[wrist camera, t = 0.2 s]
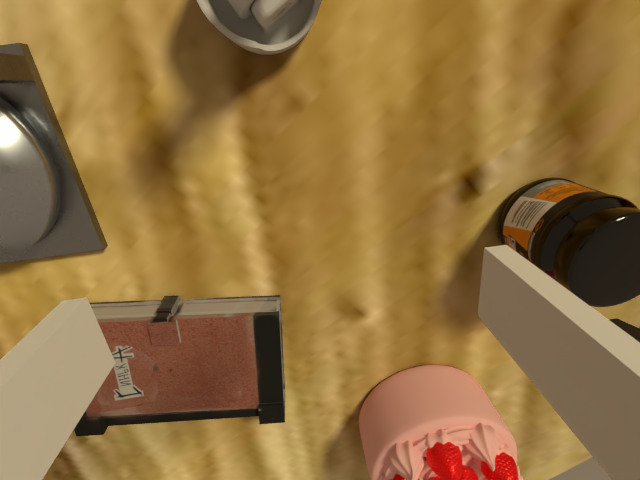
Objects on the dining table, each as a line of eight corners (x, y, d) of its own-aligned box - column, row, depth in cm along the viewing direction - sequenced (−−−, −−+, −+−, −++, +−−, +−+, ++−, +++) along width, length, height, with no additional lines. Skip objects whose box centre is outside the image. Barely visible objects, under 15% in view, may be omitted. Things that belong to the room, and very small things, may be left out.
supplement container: (487, 193, 41) (560, 233, 30) (577, 161, 40) (685, 189, 29) (499, 268, 45) (567, 327, 34) (581, 240, 44) (676, 291, 33)
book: (280, 288, 44) (278, 311, 40) (285, 392, 51) (284, 422, 47) (60, 297, 42) (32, 322, 38) (96, 403, 49) (76, 436, 45)
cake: (369, 359, 49) (398, 457, 36) (502, 364, 52) (573, 457, 39) (348, 454, 57) (366, 563, 44) (465, 455, 59) (514, 558, 46)
